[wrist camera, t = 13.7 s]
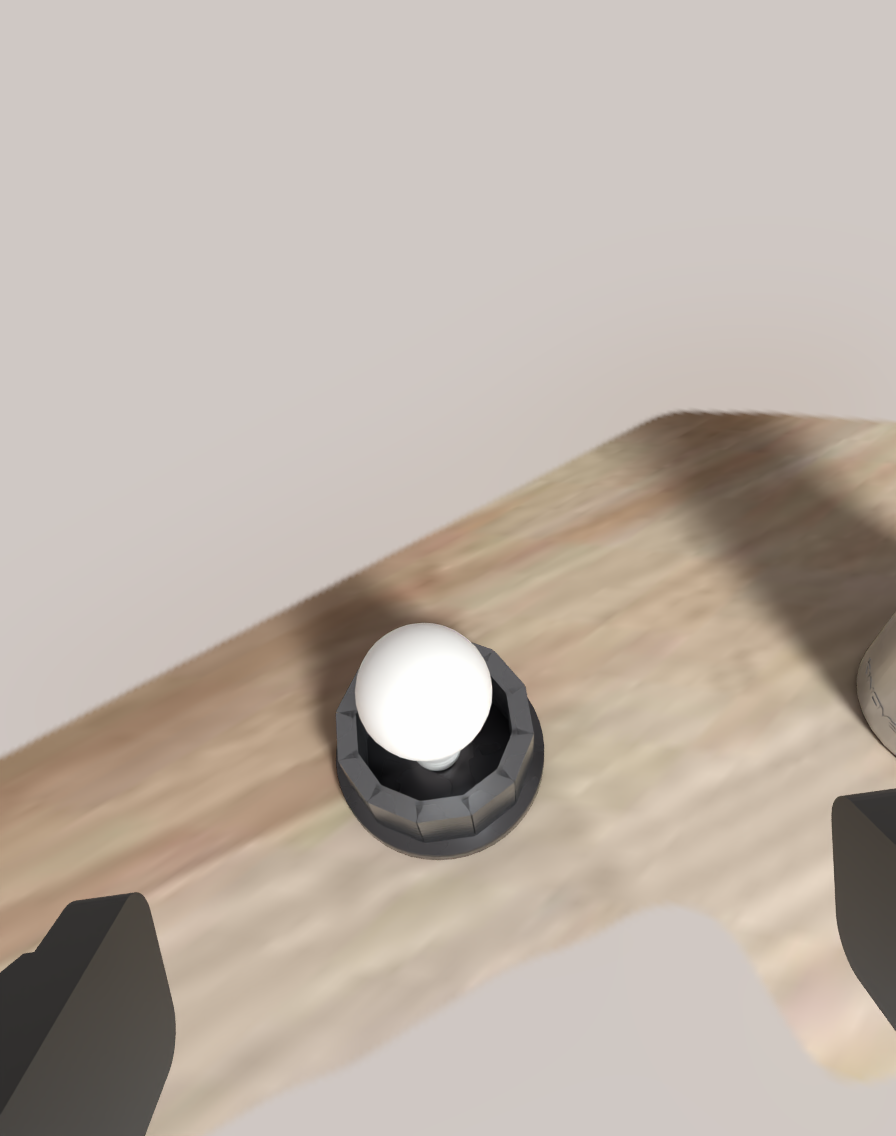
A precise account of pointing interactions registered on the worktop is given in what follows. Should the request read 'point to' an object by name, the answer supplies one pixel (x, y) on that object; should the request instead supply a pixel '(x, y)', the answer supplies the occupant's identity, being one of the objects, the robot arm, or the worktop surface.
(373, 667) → the lightbulb
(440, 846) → the socket holder
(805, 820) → the worktop surface
